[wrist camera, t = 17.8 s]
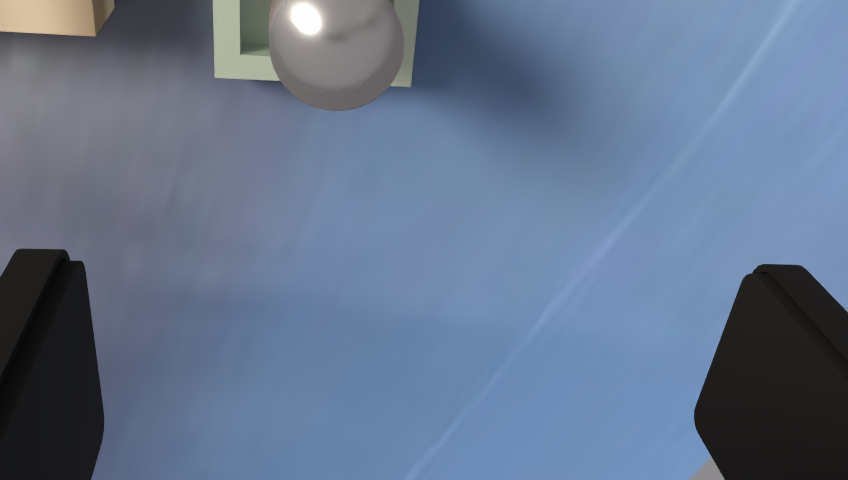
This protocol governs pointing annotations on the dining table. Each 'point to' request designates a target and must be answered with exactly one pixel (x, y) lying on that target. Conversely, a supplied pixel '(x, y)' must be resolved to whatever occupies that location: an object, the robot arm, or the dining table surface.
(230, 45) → the square tray
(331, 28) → the brushed metal cylinder
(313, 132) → the dining table surface
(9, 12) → the socket block
